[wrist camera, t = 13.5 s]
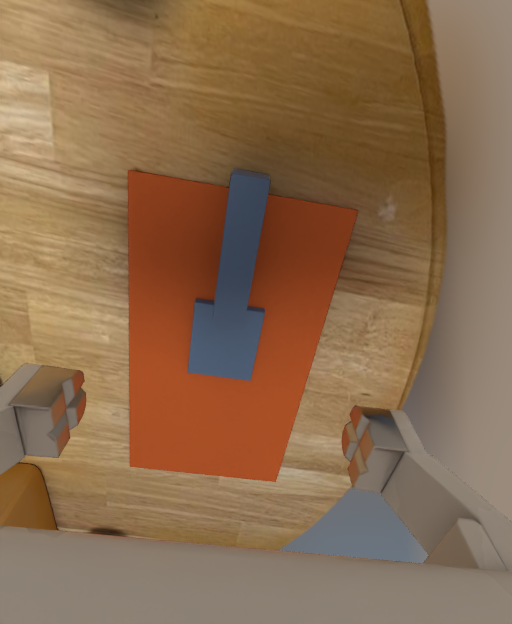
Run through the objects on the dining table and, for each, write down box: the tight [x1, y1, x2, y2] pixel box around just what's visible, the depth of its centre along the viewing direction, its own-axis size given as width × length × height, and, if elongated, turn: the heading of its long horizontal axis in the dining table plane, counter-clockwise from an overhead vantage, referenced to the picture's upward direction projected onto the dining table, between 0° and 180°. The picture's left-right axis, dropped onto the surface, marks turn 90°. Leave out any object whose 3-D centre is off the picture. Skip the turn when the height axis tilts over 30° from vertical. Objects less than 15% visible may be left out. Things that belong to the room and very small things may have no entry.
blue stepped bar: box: [188, 168, 270, 381], centre depth 26 cm, size 17×6×3 cm, turn 170°
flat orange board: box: [128, 170, 358, 482], centre depth 31 cm, size 30×16×1 cm, turn 170°
